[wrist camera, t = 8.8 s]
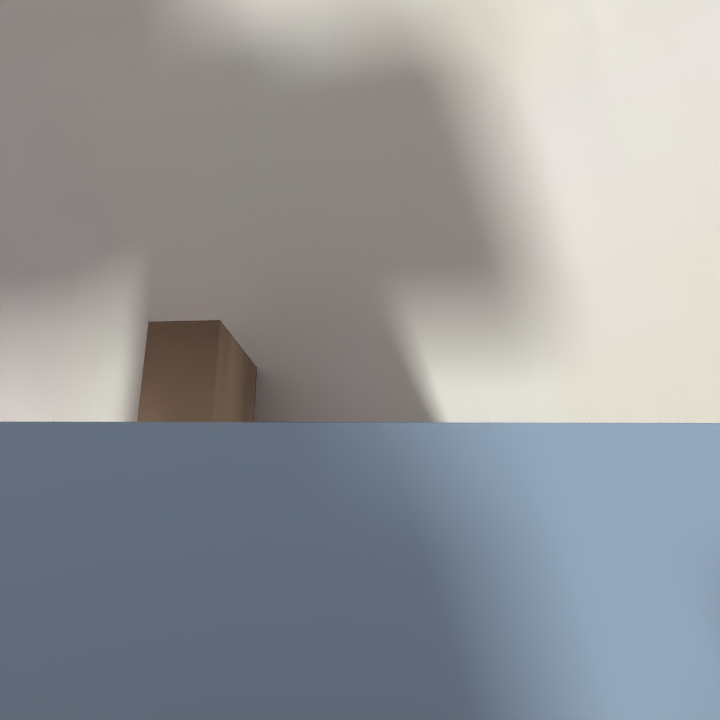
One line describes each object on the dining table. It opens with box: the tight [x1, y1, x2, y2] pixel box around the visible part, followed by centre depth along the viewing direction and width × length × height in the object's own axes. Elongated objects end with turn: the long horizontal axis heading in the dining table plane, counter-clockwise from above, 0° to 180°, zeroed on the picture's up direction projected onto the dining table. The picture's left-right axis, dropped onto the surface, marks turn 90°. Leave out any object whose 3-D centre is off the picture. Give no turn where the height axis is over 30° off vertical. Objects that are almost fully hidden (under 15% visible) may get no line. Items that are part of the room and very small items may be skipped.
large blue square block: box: [0, 422, 720, 720], centre depth 9 cm, size 4×4×12 cm
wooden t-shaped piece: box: [137, 320, 257, 422], centre depth 14 cm, size 12×14×4 cm
